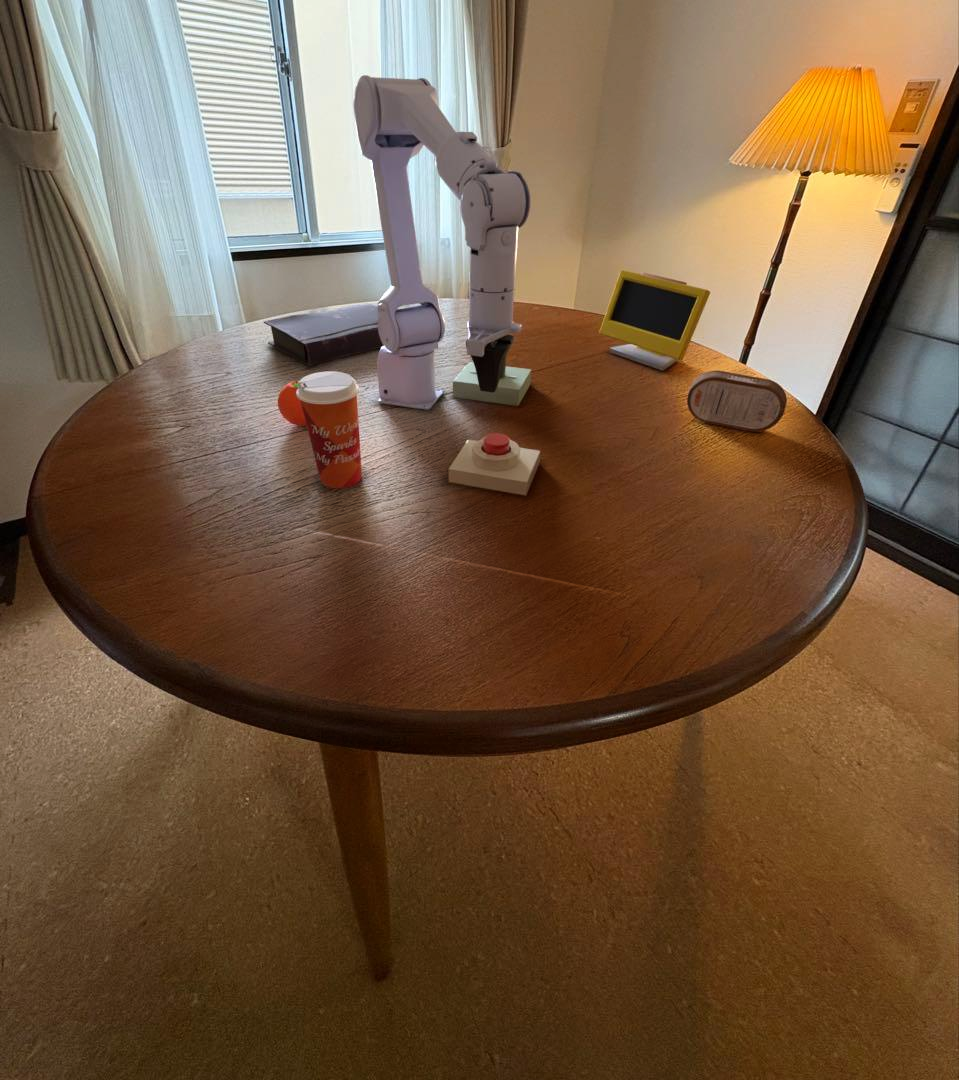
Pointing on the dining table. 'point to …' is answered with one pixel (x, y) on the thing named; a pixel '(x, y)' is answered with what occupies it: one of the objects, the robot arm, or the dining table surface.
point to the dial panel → (507, 389)
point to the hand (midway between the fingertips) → (488, 390)
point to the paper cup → (332, 426)
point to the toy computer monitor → (653, 318)
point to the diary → (327, 333)
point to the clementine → (291, 404)
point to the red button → (496, 444)
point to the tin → (736, 400)
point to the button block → (495, 468)
